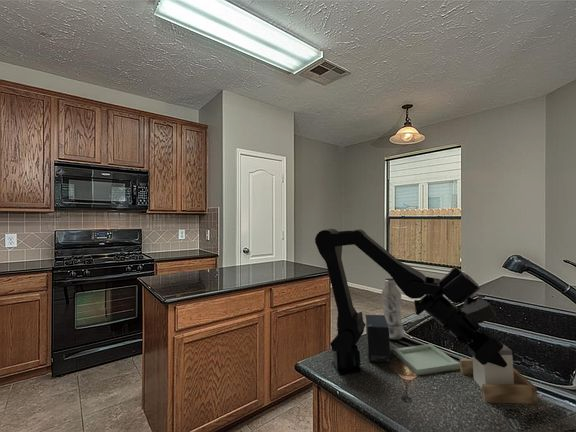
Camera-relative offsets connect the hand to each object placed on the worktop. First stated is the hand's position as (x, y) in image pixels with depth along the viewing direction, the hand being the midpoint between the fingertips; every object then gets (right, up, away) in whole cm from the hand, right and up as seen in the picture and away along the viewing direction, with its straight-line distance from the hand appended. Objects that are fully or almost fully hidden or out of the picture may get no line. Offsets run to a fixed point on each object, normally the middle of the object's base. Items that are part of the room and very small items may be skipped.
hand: (497, 359), depth 71 cm
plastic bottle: (-14, -8, +30) cm, 34 cm away
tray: (-11, -7, +14) cm, 19 cm away
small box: (-23, -8, +20) cm, 31 cm away
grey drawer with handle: (-1, -7, 0) cm, 7 cm away
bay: (-1, -7, 0) cm, 7 cm away
